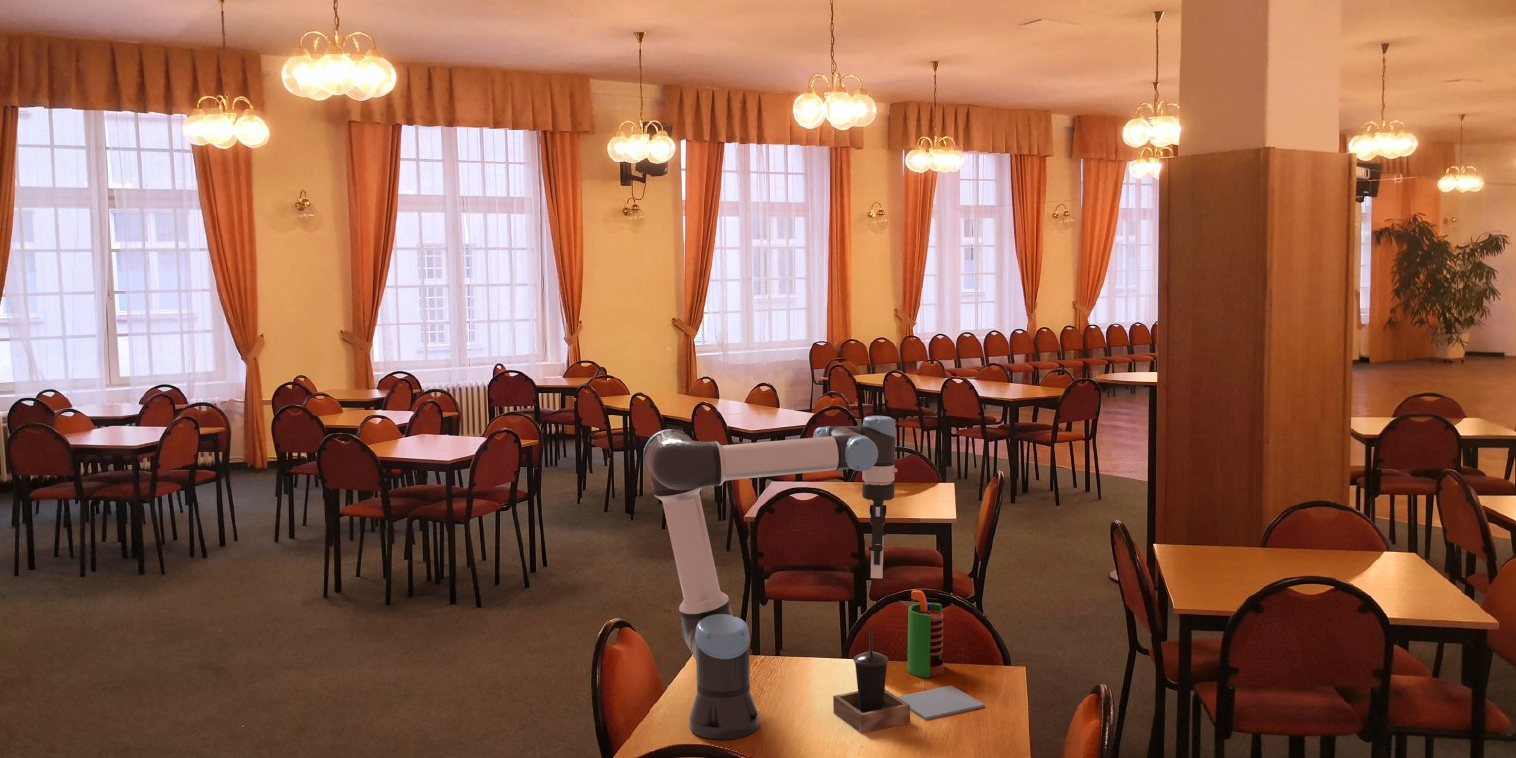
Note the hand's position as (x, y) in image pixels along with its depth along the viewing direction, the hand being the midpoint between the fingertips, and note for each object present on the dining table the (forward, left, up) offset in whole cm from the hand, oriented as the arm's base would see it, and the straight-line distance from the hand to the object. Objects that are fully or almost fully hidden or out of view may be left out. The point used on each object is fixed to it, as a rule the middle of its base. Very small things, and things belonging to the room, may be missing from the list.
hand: (877, 570), depth 265 cm
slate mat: (+7, -16, -28) cm, 33 cm away
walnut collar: (-11, -16, -28) cm, 34 cm away
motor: (+16, +3, -29) cm, 33 cm away
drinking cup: (-11, -16, -29) cm, 35 cm away
